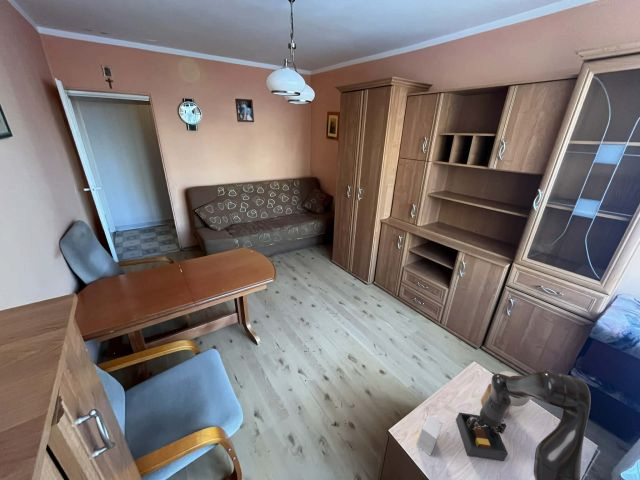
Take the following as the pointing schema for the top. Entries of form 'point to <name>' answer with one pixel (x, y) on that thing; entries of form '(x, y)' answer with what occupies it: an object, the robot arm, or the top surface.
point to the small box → (429, 434)
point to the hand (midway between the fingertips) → (480, 434)
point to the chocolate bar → (481, 438)
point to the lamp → (513, 400)
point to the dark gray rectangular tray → (496, 443)
